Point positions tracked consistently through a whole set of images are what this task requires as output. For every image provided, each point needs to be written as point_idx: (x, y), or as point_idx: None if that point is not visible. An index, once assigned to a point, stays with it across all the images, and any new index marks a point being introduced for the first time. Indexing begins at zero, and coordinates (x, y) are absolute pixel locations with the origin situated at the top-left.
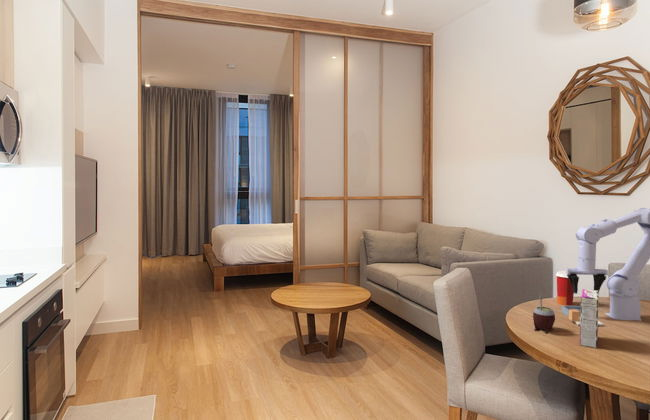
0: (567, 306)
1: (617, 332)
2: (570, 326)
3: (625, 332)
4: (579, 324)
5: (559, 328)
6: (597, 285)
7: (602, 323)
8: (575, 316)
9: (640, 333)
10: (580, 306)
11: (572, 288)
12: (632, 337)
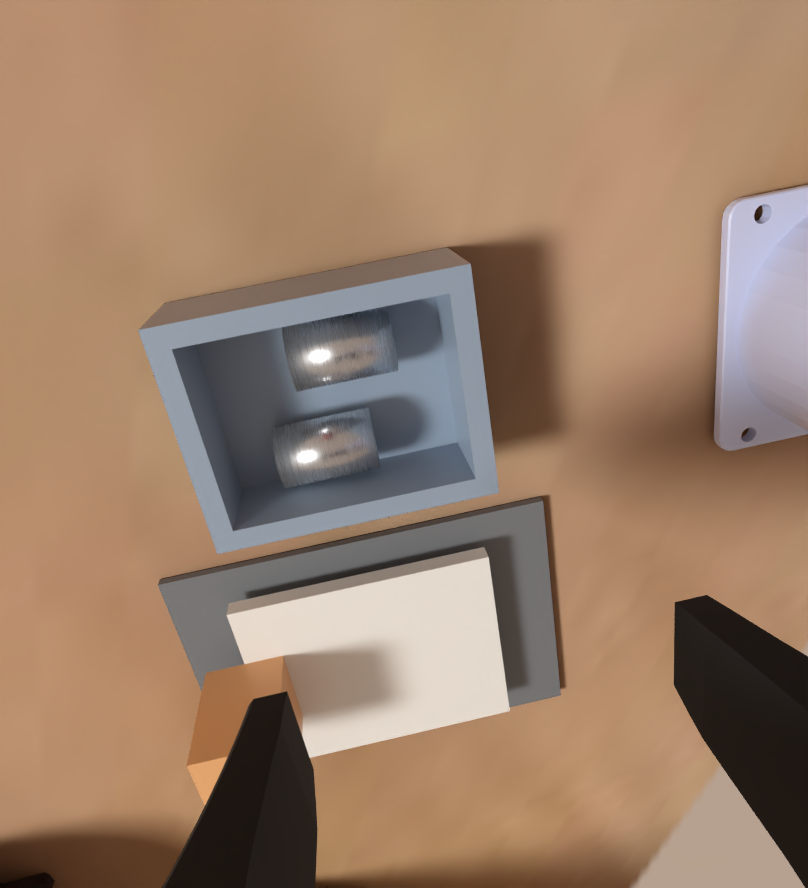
0: (227, 334)
1: (567, 748)
2: None
3: (630, 728)
4: None
5: (112, 813)
6: (804, 854)
7: (505, 702)
8: None
9: None
10: (427, 297)
11: (227, 768)
12: (625, 805)
